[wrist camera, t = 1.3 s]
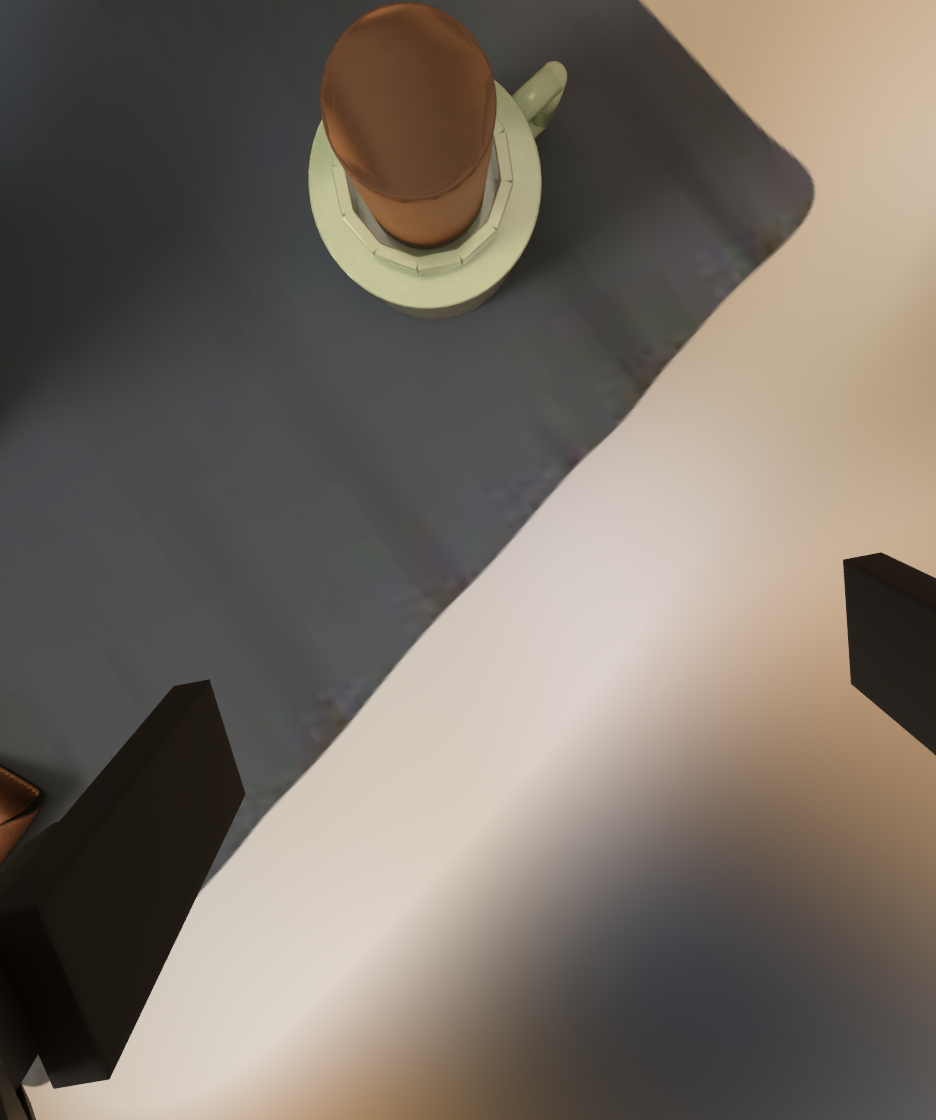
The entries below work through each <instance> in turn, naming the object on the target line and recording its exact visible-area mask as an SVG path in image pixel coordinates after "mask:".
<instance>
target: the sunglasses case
mask: <svg viewBox="0 0 936 1120" xmlns="http://www.w3.org/2000/svg"><path fill="white" fill-rule="evenodd" d="M41 804H42V801H41V793H40V791H39V789H37V788H36V787H35V786H34V785H32V784H30V783H29V782H27V781H26V780H24V779H23V778H21V777H20V776H18V775H17V774H15V773H14V772H12V771H11V770H9V769H7V768H5V767H4V766H2V765H0V864H1V863H2V861H3V860H4V859H5V857H6V856H7V854H8V853H9V852H10V851H11V849H12V848H13V847H14V845H15V844H16V842H17V841H18V840H19V838H20V837H21V835H22V834H23V833H24V832H25V830H26V829H27V828H28V826H29V824H30V823H31V822H32V821H33V819H34V817H35V815H36V814H37V812H38V811H39V809H40V807H41Z"/></svg>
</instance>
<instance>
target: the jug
mask: <svg viewBox="0 0 936 1120" xmlns="http://www.w3.org/2000/svg"><path fill="white" fill-rule="evenodd" d="M494 82H495V87H496V97H497V113H496V120H495V127H494V133H493V140H492V146H491V153H490V159H489V166H488V172H487V179H486V185H485V192H484V198H483V202H482V206H481V209H480V212H479V214H478V216H477V218H476V220H475V221H474V223H473V224H472V226H471V227H470V228H469V230H468V231H467V232H466V233H465V234H464V235H462V236H461V237H460V238H459V239H457V240H456V241H454V242H452V243H451V244H448V245H446V246H443V247H440V248H435V249H417V248H412V247H409V246H406V245H404V244H402V243H399V242H398V241H396V240H395V239H393V238H392V237H391V236H389V235H388V234H387V233H386V232H385V231H384V230H383V229H382V228H381V227H380V225H379V224H378V222H377V221H376V219H375V218H374V216H373V215H372V213H371V211H370V210H369V208H368V207H367V205H366V203H365V202H364V200H363V199H362V197H361V195H360V194H359V192H358V191H357V189H356V187H355V186H354V184H353V183H352V181H351V179H350V178H349V176H348V175H347V173H346V171H345V170H344V168H343V167H342V165H341V163H340V162H339V160H338V159H337V157H336V155H335V153H334V151H333V150H332V148H331V146H330V143H329V141H328V138H327V136H326V133H325V129H324V125H323V121H322V120H321V122H320V124H319V127H318V129H317V132H316V135H315V138H314V141H313V145H312V150H311V155H310V161H309V173H308V182H309V196H310V202H311V209H312V212H313V216H314V219H315V223H316V226H317V228H318V231H319V233H320V235H321V238H322V240H323V242H324V244H325V245H326V247H327V249H328V251H329V253H330V254H331V256H332V257H333V258H334V260H335V261H336V262H337V264H338V265H339V266H340V268H341V269H342V270H343V271H344V272H345V273H346V274H347V275H348V276H349V277H350V278H351V279H352V280H354V281H355V282H356V283H357V284H358V285H360V286H361V287H362V288H364V289H365V290H366V291H368V292H369V293H371V294H372V295H374V296H375V297H377V298H378V299H380V300H381V301H383V302H384V303H385V304H387V305H389V306H390V307H392V308H394V309H395V310H397V311H400V312H402V313H404V314H406V315H410V316H413V317H417V318H423V319H446V318H452V317H456V316H460V315H463V314H465V313H467V312H470V311H472V310H474V309H475V308H477V307H479V306H480V305H482V304H483V303H484V302H486V301H487V300H488V299H490V298H491V297H492V296H493V295H494V294H495V293H496V292H497V291H498V290H499V288H500V287H501V286H502V284H503V283H504V282H505V280H506V279H507V277H508V276H509V274H510V272H511V271H512V269H513V268H514V266H515V264H516V263H517V261H518V260H519V258H520V256H521V255H522V253H523V251H524V249H525V248H526V246H527V244H528V242H529V240H530V237H531V235H532V232H533V230H534V227H535V224H536V220H537V217H538V213H539V207H540V201H541V188H542V176H541V164H540V159H539V154H538V149H537V145H536V142H535V138H536V137H537V136H538V135H539V134H541V133H542V132H543V131H544V130H545V129H546V128H547V127H548V126H549V125H550V123H551V121H552V119H553V116H554V114H555V111H556V108H557V106H558V103H559V101H560V98H561V96H562V93H563V91H564V88H565V86H566V83H567V71H566V69H565V67H564V66H563V64H561V63H560V62H558V61H550V62H548V63H546V64H545V65H544V66H543V67H541V68H540V69H539V70H538V71H537V72H536V73H535V74H534V75H533V76H532V77H531V78H530V79H529V80H528V81H527V82H526V83H525V84H524V85H522V86H521V87H520V88H519V89H518V90H517V91H516V92H515V93H514V94H513V95H512V96H510V95H509V93H508V92H507V91H506V90H505V89H504V88H503V87H502V86H501V85H500V84H499V83H498V82H497V81H496V80H494Z"/></svg>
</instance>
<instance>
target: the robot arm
mask: <svg viewBox="0 0 936 1120" xmlns="http://www.w3.org/2000/svg"><path fill="white" fill-rule="evenodd" d="M843 566H844V580H845V597H846V612H847V628H848V643H849V659H850V674H851V684H852V685H853V686H854V687H856V688H857V689H858V690H859V691H860V692H861V693H863V694H864V695H865V696H866V697H867V698H869V699H870V700H871V701H872V702H873V703H875V704H876V705H877V706H878V707H879V708H880V709H882V710H883V711H884V712H885V713H886V714H888V715H889V716H890V717H891V718H892V719H893V720H895V721H896V722H897V723H898V724H899V725H901V726H902V727H903V728H904V729H905V730H907V731H908V732H909V733H910V734H911V735H913V736H914V737H915V738H916V739H917V740H918V741H920V742H921V743H922V744H923V745H925V746H926V747H927V748H928V749H929V750H930V751H932V752H933V753H934V754H935V755H936V578H934V577H932V576H930V575H928V574H925V573H923V572H921V571H919V570H917V569H915V568H913V567H911V566H909V565H907V564H904V563H902V562H900V561H898V560H896V559H894V558H891V557H890V556H888V555H886V554H883V553H876V554H871V555H866V556H860V557H855V558H850V559H845V560H843ZM244 796H245V791H244V788H243V785H242V782H241V779H240V775H239V772H238V769H237V766H236V763H235V759H234V756H233V753H232V750H231V747H230V743H229V740H228V737H227V734H226V731H225V727H224V724H223V721H222V718H221V715H220V712H219V708H218V705H217V702H216V699H215V696H214V692H213V689H212V686H211V683H210V680H204V681H199V682H194V683H188V684H183V685H178V686H174V687H173V688H172V689H171V690H170V691H169V692H168V694H167V695H166V696H165V697H164V698H163V700H162V701H161V702H160V703H159V704H158V705H157V707H156V708H155V709H154V710H153V711H152V713H151V714H150V715H149V716H148V717H147V718H146V720H145V721H144V722H143V723H142V724H141V726H140V727H139V728H138V729H137V730H136V731H135V733H134V734H133V735H132V736H131V737H130V739H129V740H128V741H127V742H126V743H125V744H124V746H123V747H122V748H121V749H120V750H119V752H118V753H117V754H116V755H115V756H114V758H113V759H112V760H111V761H110V762H109V763H108V765H107V766H106V767H105V768H104V769H103V771H102V772H101V773H100V774H99V775H98V776H97V778H96V779H95V780H94V781H93V782H92V784H91V785H90V786H89V787H88V788H87V789H86V791H85V792H84V793H83V794H82V795H81V797H80V798H79V799H78V800H77V801H76V802H75V804H74V805H73V806H72V807H71V808H70V810H69V811H68V812H67V813H66V814H65V815H64V817H63V818H62V819H61V820H60V821H59V822H55V823H53V824H52V825H50V826H49V827H48V828H46V829H45V830H44V831H42V832H41V833H40V834H38V835H37V836H36V837H34V838H33V839H32V840H30V841H29V842H28V843H26V844H25V845H24V846H23V848H22V849H21V850H20V851H19V852H18V853H17V854H16V856H15V857H14V858H13V859H12V860H11V861H10V862H9V864H8V865H7V866H6V870H5V871H2V872H1V873H0V1120H36V1118H35V1115H34V1112H33V1109H32V1106H31V1103H30V1101H29V1099H28V1097H27V1094H26V1092H25V1090H24V1088H23V1085H22V1083H21V1082H22V1080H23V1079H24V1077H25V1075H26V1074H27V1072H28V1070H29V1069H30V1067H31V1065H32V1064H33V1062H34V1060H35V1059H36V1057H37V1055H39V1057H40V1059H41V1061H42V1064H43V1066H44V1068H45V1070H46V1073H47V1075H48V1077H49V1079H50V1082H51V1084H52V1086H53V1088H61V1087H67V1086H73V1085H79V1084H84V1083H91V1082H96V1081H102V1080H108V1079H110V1077H111V1075H112V1073H113V1070H114V1068H115V1066H116V1064H117V1062H118V1060H119V1058H120V1056H121V1054H122V1052H123V1050H124V1048H125V1045H126V1043H127V1041H128V1039H129V1037H130V1035H131V1033H132V1031H133V1029H134V1027H135V1025H136V1023H137V1020H138V1018H139V1016H140V1014H141V1012H142V1010H143V1008H144V1005H145V1004H146V1002H147V999H148V997H149V995H150V993H151V991H152V989H153V987H154V985H155V983H156V980H157V979H158V976H159V974H160V972H161V970H162V968H163V966H164V964H165V961H166V960H167V958H168V955H169V953H170V951H171V949H172V947H173V945H174V943H175V940H176V939H177V937H178V935H179V932H180V930H181V928H182V926H183V924H184V922H185V920H186V918H187V916H188V914H189V911H190V909H191V907H192V905H193V903H194V901H195V899H196V897H197V895H198V893H199V891H200V888H201V886H202V884H203V882H204V880H205V878H206V876H207V874H208V872H209V870H210V868H211V865H212V863H213V861H214V859H215V857H216V855H217V853H218V851H219V849H220V847H221V844H222V842H223V840H224V838H225V836H226V834H227V832H228V830H229V828H230V826H231V824H232V821H233V819H234V817H235V815H236V813H237V811H238V809H239V807H240V805H241V803H242V800H243V798H244Z"/></svg>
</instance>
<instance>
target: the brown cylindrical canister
mask: <svg viewBox="0 0 936 1120" xmlns="http://www.w3.org/2000/svg"><path fill="white" fill-rule="evenodd" d="M320 104H321V115H322V121H323V125H324V129H325V133H326V136H327V138H328V141H329V143H330V146H331V148H332V150H333V151H334V153H335V155H336V157H337V159H338V160H339V162H340V163H341V165H342V167H343V168H344V170H345V171H346V173H347V175H348V176H349V178H350V179H351V181H352V183H353V184H354V186H355V187H356V189H357V191H358V192H359V194H360V195H361V197H362V199H363V200H364V202H365V203H366V205H367V207H368V208H369V210H370V211H371V213H372V215H373V216H374V218H375V219H376V221H377V222H378V224H379V225H380V227H381V228H382V229H383V230H384V231H385V232H386V233H387V234H388V235H389V236H391V237H392V238H393V239H395V240H396V241H398V242H399V243H402V244H404V245H406V246H409V247H412V248H417V249H435V248H440V247H443V246H446V245H448V244H451V243H452V242H454V241H456V240H457V239H459V238H460V237H461V236H462V235H464V234H465V233H466V232H467V231H468V230H469V228H470V227H471V226H472V224H473V223H474V221H475V220H476V218H477V216H478V214H479V212H480V209H481V206H482V202H483V198H484V192H485V185H486V179H487V172H488V166H489V159H490V153H491V146H492V140H493V133H494V127H495V120H496V113H497V97H496V87H495V82H494V77H493V73H492V70H491V67H490V64H489V62H488V60H487V57H486V55H485V53H484V51H483V49H482V48H481V46H480V45H479V43H478V42H477V40H476V39H475V38H474V36H473V35H472V34H471V33H470V32H469V30H468V29H467V28H466V27H464V26H463V25H462V24H461V23H460V22H459V21H458V20H456V19H455V18H453V17H452V16H450V15H449V14H447V13H445V12H443V11H441V10H439V9H437V8H434V7H431V6H428V5H425V4H419V3H406V2H401V3H394V4H388V5H385V6H382V7H378V8H376V9H374V10H372V11H370V12H368V13H366V14H365V15H363V16H362V17H360V18H359V19H357V20H356V21H355V22H354V23H353V24H352V25H350V26H349V27H348V28H347V29H346V31H345V32H344V33H343V34H342V35H341V36H340V38H339V39H338V41H337V43H336V44H335V46H334V47H333V49H332V51H331V53H330V56H329V58H328V60H327V63H326V66H325V69H324V73H323V78H322V83H321V93H320Z"/></svg>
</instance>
